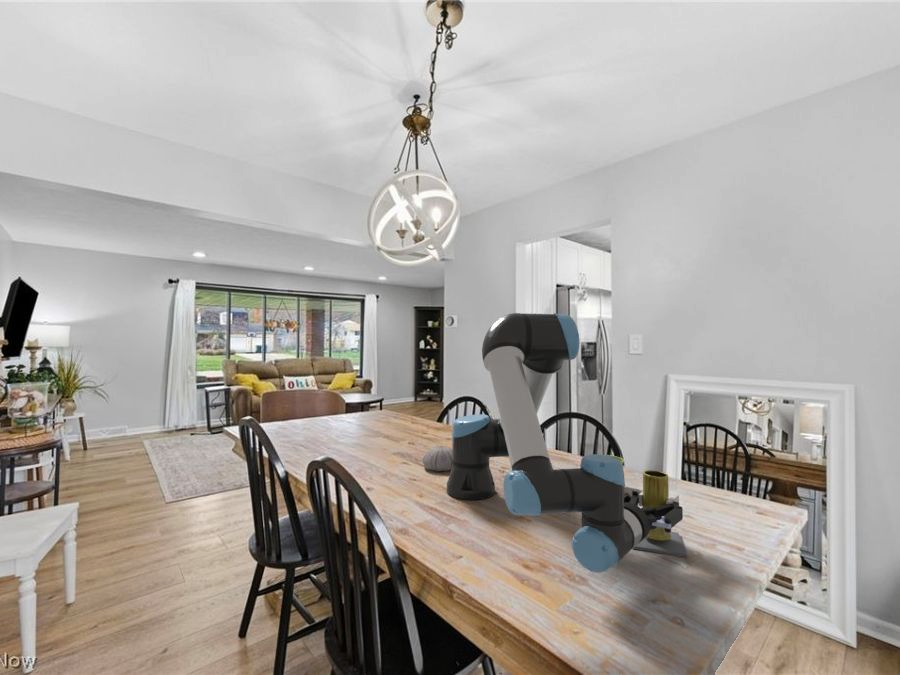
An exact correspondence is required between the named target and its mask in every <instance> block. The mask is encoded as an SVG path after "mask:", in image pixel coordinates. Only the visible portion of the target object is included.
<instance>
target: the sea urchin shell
mask: <svg viewBox="0 0 900 675" xmlns="http://www.w3.org/2000/svg"><path fill="white" fill-rule="evenodd" d="M422 463H423V467H425V469H427V470H430V471H434V470H435V471H434V472H436V471H438V472H445V471H451V469H452V449H451V448H450V447H448V446H443V445H438V446H433V447H431V448H430V449H429V450H427V452H426V453H425V454H424V456H423V458H422Z"/></svg>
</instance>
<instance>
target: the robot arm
mask: <svg viewBox="0 0 900 675" xmlns="http://www.w3.org/2000/svg"><path fill="white" fill-rule="evenodd" d="M579 351H580V334H579V329H578V326H577V324H576V321H575V320H574V318H573V317H572V316H570V315H569V314H564V313H556V312H554V313H519V312H513V313H508V314H505V315H503V316H501V317H499V318H498V319H497V320H496V321H495V322H493V324H491V326H490V327H489V328H488V330H487V331H486V334H485V336H484V339H483V342H482V348H481V356H482V361H483V362H482V363H483V366H484V368H485V370H486V371H488V372H489V374H490V377H491V383H492V386H493V390H494V391H493V393H494V395H495V401H496V404H497V409H498V414H499V418H495V419H493V418H492V419H491V418H490V416H489V415H487V414H483V413H482V414H469V415H468V414H467V415H463V416H461V417H458V418H456V419H455V420H454V421H453V423H452V429H451V440H452V443H451V444H452V445H451V446H452V447H451V448H452V449H451V450H452V469H451V470H450V473H449V476H448V480H447V481H446V493H447V494H448V495H449V496H451V497H454V498H456V499H459V500H460V499H461V500H467V501H468V500H469V501H473V500H474V501H475V500H476V501H477V500H484V499H487V498H488V499H489V498H491V497H492V496H494V495H495V493H496V484H495V481H494V477H493V474H492V471H491V467H490V458H498V457H499V458H500V457H508V458H509V462H510V466H511V471H509V472H507V473H505V475H504V478H503V479H504V480H503V491H504V492H503V498H504V501H505V502H504V503H505V505H506V508H507V509H508V511H509V512H510V513H511V514H512V515H515V516H534V517H535V516H540V515H551V514H552V515H553V514H560V513H562V514H563V513H567V514H568V513H579V512H580V513H581V527H580V528H578V530H577V531H576V532H575V533H574V534H573V536H572V539H571V540H572V541H571V547H572V552H573V555H574V556H575V559H576V561H577V562H578V563H579V564H580V565H581V566H582V567H583V568H584V569H586V570H588V571H590V572H591V573H595V574H596V573H597V574H600V573H604V572H607V570H609V569H611V568H613V567H615V566H616V565H618V563H619V562H620V560H622V559H623V558H624V557H625V556H626V555H627V554H628V553H629V552H630V551H631V550H634V549H633V548H634V547H635V546H636V545H637V544H638V543H640V542H641V541H642V540H643V539H644V538H645V537H646V536H647V535H648V533H649V532H650V530H651V529H655V528H656V527H662V529H665V532H668V533H670V532H672V528H674V527H676V525H677V524H679V523H680V522H681V521H682V520H683V518H684V517H683V516H684V514H683V513H684V511H683V507H682V506H680V495H679V494H677V493H675V494H673V495H672V496H671V497H670V498H669V499H668V500H667V501H666V504H665V505H662V506H658V507H655V508H652V507H647V508H643V491H641V492H638V491H637V490H633V491H632V492H631V495H630V494H629V493H628V492H625V487H626V482H625V471H624V465H623V464H622V463H621V461H620V460H618V459H616V458H614V457H611V456H612V455H611V456H607V455H608V454H599V453H598V454H596V453H595V454H587V455H584V456H582V458H581V460H580V465H579V467H580V468H579V467H577V468H558V469H554V468H553V466H552V462H551V458H550V456H549V452H548V448H547V445H546V442H545V439H544V438H545V437H544V435H543V432H542V428H541V423H540V422H539V417H538V412H539V410H540V407H541V405H542V402H543V400H544V396H545V394H546V392H547V389H548V386H549V384H550V381H551V379H552V376H553V375H554V374H556V373H558V372H560V370H561V369H562V367H563V365H564V363H565V361H569V362H570V361H572V360H575V359H576V358H577V357H578V354H579Z"/></svg>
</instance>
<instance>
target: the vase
mask: <svg viewBox="0 0 900 675" xmlns="http://www.w3.org/2000/svg"><path fill="white" fill-rule="evenodd" d="M642 473H643V474H642V476H643V477H642V487H643V488H642V492H643V506H642V508H647V507H652V508H655V507H658V506H662V505H665V504H666V501H667V500H668V499H670V498H669V497H670V496H669V474H668V473H666V472H663V471H660V470H652V469H651V470H644V471H643V472H642ZM646 537H648V538H650V539H653V540H658V541H666V540H669V539H670V538H671V534H670V533H668V532H665V529H662V527H656V528H655V529H651V530H650V532H649V533H648V535H647V536H646Z"/></svg>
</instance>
